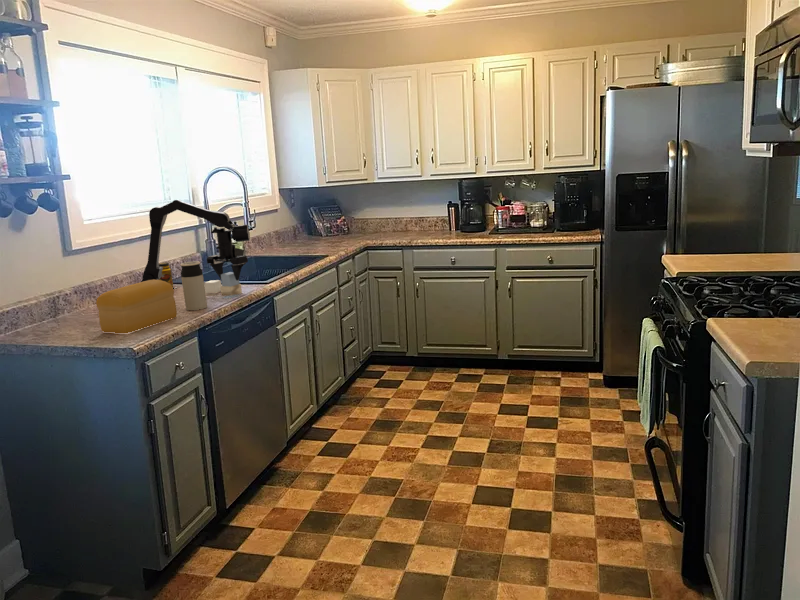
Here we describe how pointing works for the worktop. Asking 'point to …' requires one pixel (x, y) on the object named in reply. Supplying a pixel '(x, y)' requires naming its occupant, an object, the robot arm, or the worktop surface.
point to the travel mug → (193, 286)
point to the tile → (231, 296)
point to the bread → (136, 306)
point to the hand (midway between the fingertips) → (229, 279)
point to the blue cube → (229, 279)
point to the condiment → (166, 273)
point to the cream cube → (212, 286)
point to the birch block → (231, 290)
